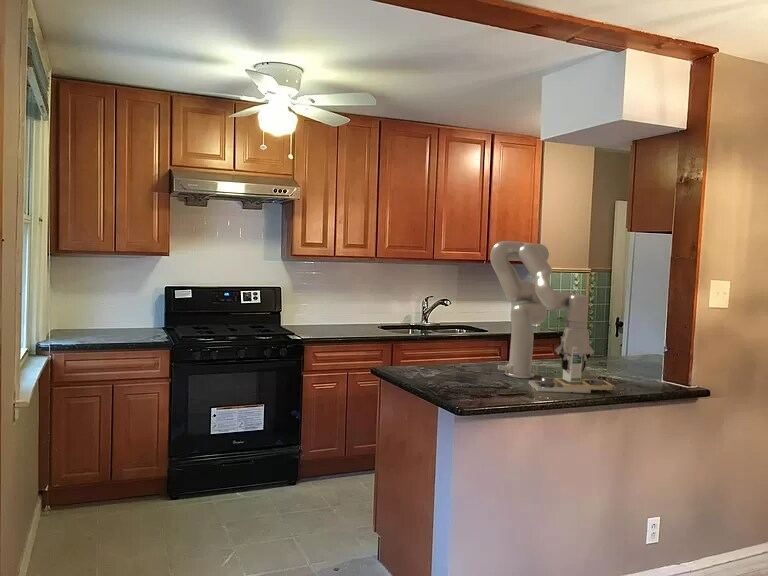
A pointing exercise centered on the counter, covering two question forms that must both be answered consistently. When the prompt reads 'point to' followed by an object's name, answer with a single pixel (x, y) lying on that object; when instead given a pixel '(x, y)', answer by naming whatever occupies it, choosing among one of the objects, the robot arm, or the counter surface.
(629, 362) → the counter surface
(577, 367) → the syrup box
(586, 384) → the brass end link
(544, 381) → the steel end link
